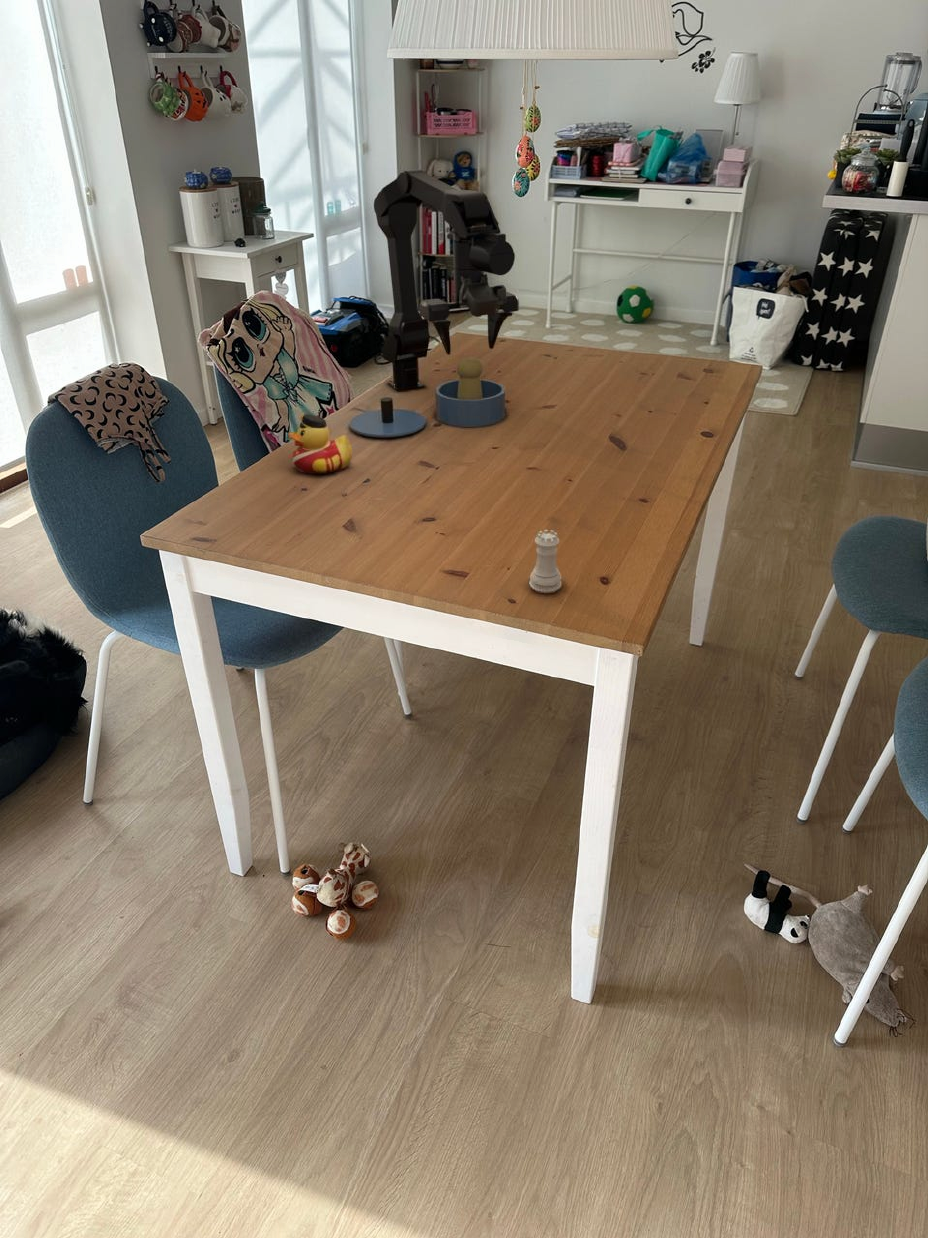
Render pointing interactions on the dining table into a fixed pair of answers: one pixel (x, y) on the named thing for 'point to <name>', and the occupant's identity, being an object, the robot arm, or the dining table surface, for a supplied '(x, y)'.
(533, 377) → the dining table surface
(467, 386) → the tan pawn
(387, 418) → the lid
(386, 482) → the dining table surface
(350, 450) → the toy
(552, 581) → the rook chess piece
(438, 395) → the basin
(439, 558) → the dining table surface
